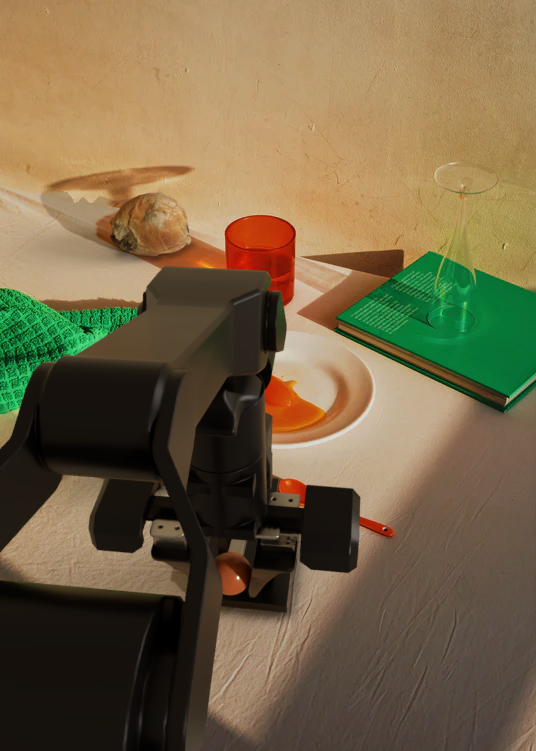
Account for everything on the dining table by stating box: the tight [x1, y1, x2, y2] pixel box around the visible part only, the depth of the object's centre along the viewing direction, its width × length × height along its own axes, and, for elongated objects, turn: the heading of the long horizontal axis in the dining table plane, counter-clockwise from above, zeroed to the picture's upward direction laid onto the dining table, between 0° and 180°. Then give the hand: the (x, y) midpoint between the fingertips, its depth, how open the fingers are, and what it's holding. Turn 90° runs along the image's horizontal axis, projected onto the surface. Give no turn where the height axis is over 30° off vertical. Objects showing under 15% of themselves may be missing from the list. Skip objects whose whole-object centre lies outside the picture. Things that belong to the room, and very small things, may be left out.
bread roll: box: [109, 191, 192, 257], centre depth 119 cm, size 12×13×10 cm
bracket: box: [209, 477, 293, 614], centre depth 66 cm, size 10×8×9 cm
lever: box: [215, 539, 252, 595], centre depth 60 cm, size 12×3×3 cm, turn 173°
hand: (232, 590), depth 58 cm, fingers closed on lever, 3 cm apart
